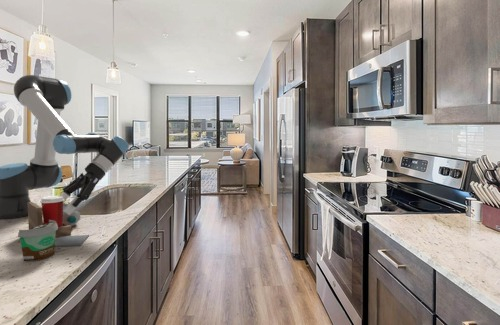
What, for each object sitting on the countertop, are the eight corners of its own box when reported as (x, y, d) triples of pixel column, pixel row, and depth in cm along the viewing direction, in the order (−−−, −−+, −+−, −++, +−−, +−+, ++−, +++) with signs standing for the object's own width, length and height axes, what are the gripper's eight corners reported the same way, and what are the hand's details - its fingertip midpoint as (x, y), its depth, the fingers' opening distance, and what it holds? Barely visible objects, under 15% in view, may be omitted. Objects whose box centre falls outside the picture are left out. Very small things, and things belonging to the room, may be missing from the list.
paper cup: (58, 229, 128) (56, 194, 127) (69, 232, 124) (68, 196, 123) (37, 234, 121) (35, 198, 120) (48, 238, 117) (46, 200, 116)
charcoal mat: (59, 238, 118) (59, 236, 117) (88, 236, 120) (88, 234, 120) (48, 247, 108) (48, 245, 108) (80, 245, 110) (80, 244, 110)
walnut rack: (59, 227, 130) (58, 198, 129) (71, 235, 121) (69, 203, 120) (28, 233, 122) (27, 202, 121) (38, 241, 113) (37, 208, 112)
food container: (37, 265, 94) (35, 231, 93) (19, 263, 95) (17, 230, 94) (68, 250, 106) (66, 220, 105) (51, 248, 107) (50, 219, 106)
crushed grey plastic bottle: (42, 218, 143) (51, 230, 124) (43, 202, 143) (52, 212, 124) (75, 216, 152) (88, 227, 133) (75, 201, 151) (89, 210, 132)
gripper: (119, 176, 126) (80, 221, 116) (93, 171, 143) (57, 210, 133) (105, 164, 122) (63, 209, 112) (79, 159, 138) (41, 199, 129)
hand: (59, 210), depth 123 cm, fingers open, 13 cm apart
